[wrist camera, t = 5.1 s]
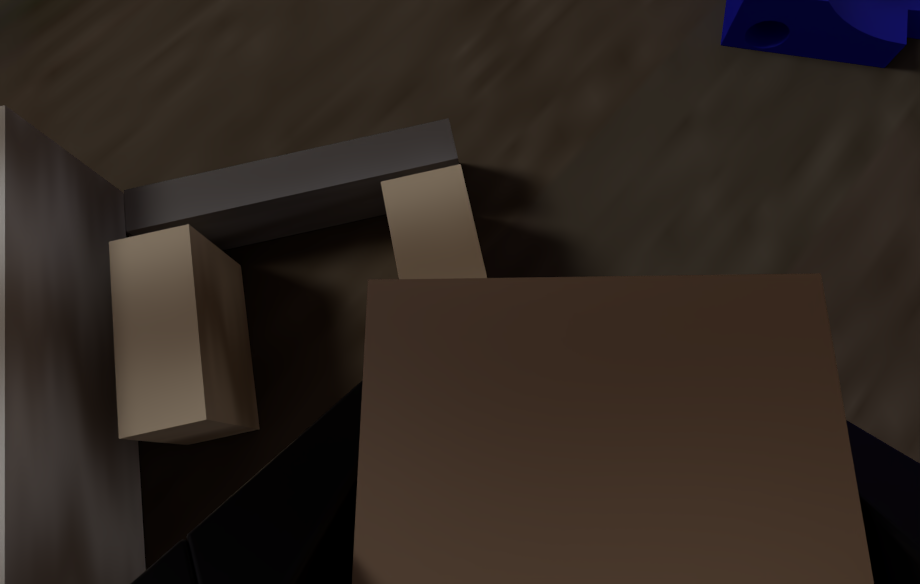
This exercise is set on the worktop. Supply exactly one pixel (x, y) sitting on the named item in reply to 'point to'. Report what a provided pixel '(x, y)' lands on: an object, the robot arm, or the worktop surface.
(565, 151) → the worktop surface
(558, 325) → the plain brown block
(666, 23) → the worktop surface
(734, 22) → the cable clip
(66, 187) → the stepped pillar cluster
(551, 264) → the worktop surface
